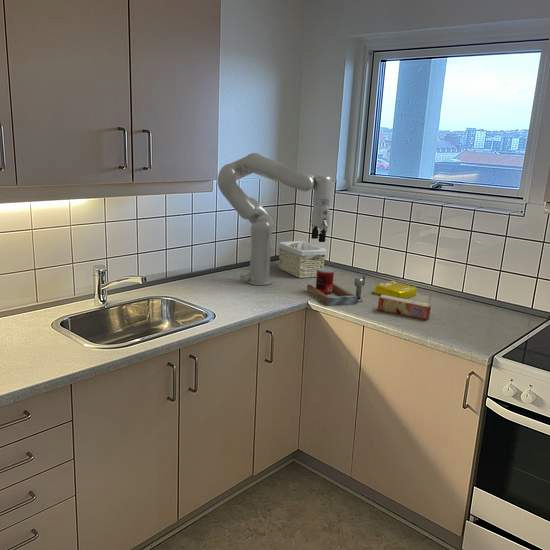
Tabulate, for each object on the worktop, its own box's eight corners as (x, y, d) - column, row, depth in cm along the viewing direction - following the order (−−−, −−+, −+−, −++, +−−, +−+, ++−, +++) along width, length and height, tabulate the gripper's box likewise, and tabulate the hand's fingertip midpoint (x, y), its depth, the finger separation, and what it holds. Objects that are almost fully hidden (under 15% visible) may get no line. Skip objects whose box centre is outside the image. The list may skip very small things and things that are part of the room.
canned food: (332, 290, 259) (333, 268, 257) (332, 295, 252) (334, 272, 249) (315, 289, 260) (317, 266, 257) (315, 294, 252) (317, 270, 250)
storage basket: (276, 268, 296) (277, 241, 292) (302, 266, 304) (304, 240, 300) (298, 279, 276) (300, 250, 272) (325, 277, 283) (328, 249, 279)
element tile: (399, 301, 249) (400, 291, 248) (372, 293, 260) (373, 283, 259) (417, 296, 259) (418, 286, 258) (391, 288, 270) (392, 279, 269)
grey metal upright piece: (355, 302, 243) (358, 277, 240) (351, 299, 247) (353, 275, 244) (364, 301, 245) (367, 277, 242) (360, 299, 249) (362, 274, 246)
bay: (328, 305, 236) (329, 298, 235) (306, 291, 256) (307, 283, 256) (357, 303, 241) (357, 296, 240) (333, 289, 262) (334, 282, 261)
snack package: (430, 317, 230) (432, 301, 228) (426, 321, 224) (428, 305, 222) (380, 307, 239) (381, 292, 237) (376, 311, 233) (377, 296, 231)
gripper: (337, 205, 248) (333, 243, 253) (320, 199, 264) (317, 236, 268) (321, 205, 245) (318, 244, 250) (306, 199, 261) (303, 236, 266)
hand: (318, 239), depth 259 cm, fingers open, 7 cm apart
